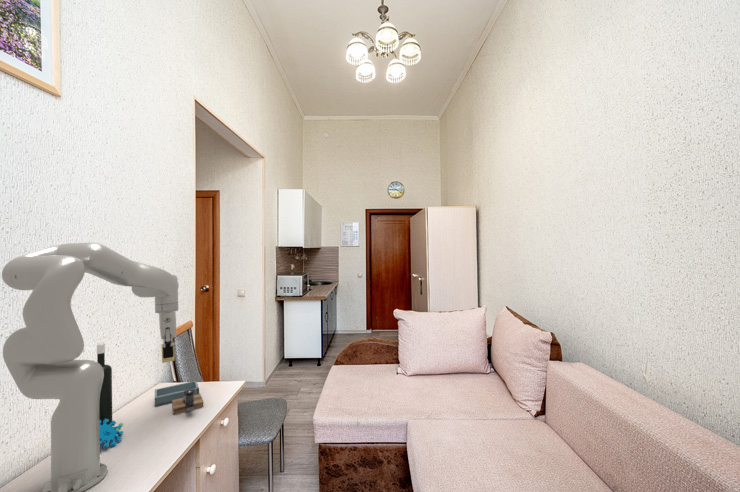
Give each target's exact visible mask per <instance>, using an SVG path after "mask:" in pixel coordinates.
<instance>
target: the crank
mask: <svg viewBox="0 0 740 492" xmlns="http://www.w3.org/2000/svg"><path fill="white" fill-rule="evenodd" d="M194 392H195V389H194V388H191V389H187V390H185V391H184V394H185V395H186V396H185V397H183V402H185V404H186V409H187V412H190V411H194V410H193V406H194Z"/></svg>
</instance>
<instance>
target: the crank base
mask: <svg viewBox="0 0 740 492" xmlns="http://www.w3.org/2000/svg"><path fill="white" fill-rule="evenodd" d="M171 404H172V405H171V406H172V407H171V408H172V414H173V416H175V415H178V414H182V413H186V412H188V411H187V409H186V404H185V402H183V398H180V399H176V400H172V403H171ZM202 407H203V408H204V399H203V397H202V395H201V393H199V394H197V395H194V406H193V410H192V411H194V410H199V409H202Z"/></svg>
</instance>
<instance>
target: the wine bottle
mask: <svg viewBox="0 0 740 492" xmlns="http://www.w3.org/2000/svg"><path fill="white" fill-rule="evenodd" d="M105 353H106V344H105V342H99V343H98V342H97V343H96V354H97V355H96V357H97V358H96V359H97V360H96V362H97V363H99V364H100V365H101V366H102V368H103V370H104V378H103V383H102V387H101V392H100V401H99V420H101V423H100V424H101V425H103V421H104V420H105V419H109V421H108V422H107V423H106V424H107V425H109V424H110V423H111V422H112V421H113V382H112V381H113V370H112V369H113V368H112V366H111V365H109V364H106V363H105V361H106V360H105V359H106V358H105Z"/></svg>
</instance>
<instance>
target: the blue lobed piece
mask: <svg viewBox="0 0 740 492" xmlns="http://www.w3.org/2000/svg"><path fill="white" fill-rule="evenodd" d="M108 421H109V419H105V420H104V421H103V425H101V424H100V423H101V420H99V433H100V445H101V444H102V443H103V445H102V448H103V449H104V450H105V449H107V448H109V446H110V447H111V448H113V447H115V446H116V445H117V444H118V443H120V441H122V436H123V434H124V431H122V430H121V429H122V427H123V426H124V424H123V423H122V422H121V423H119V424H118V425H117V426H115V425H116V424H117V422H116V421H115V420H112V422H111V423H110V424H109V425H107V424H106V423H107V422H108ZM120 430H121V431H120ZM109 443H111V444H109Z"/></svg>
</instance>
